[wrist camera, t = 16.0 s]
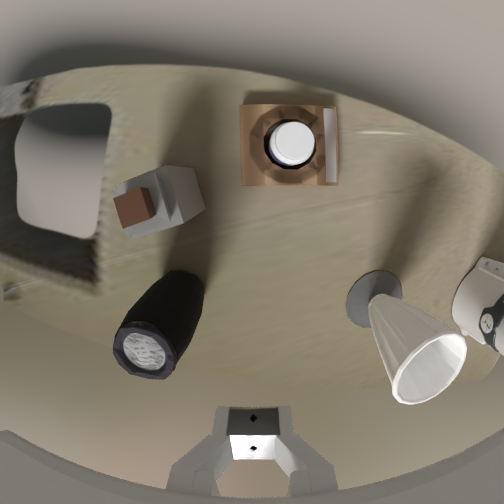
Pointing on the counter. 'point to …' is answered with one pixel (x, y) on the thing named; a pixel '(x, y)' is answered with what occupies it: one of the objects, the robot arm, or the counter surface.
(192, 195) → the perfume bottle
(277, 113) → the jig
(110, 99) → the counter surface
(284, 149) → the pill bottle
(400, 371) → the cup
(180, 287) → the portable speaker
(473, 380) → the counter surface
